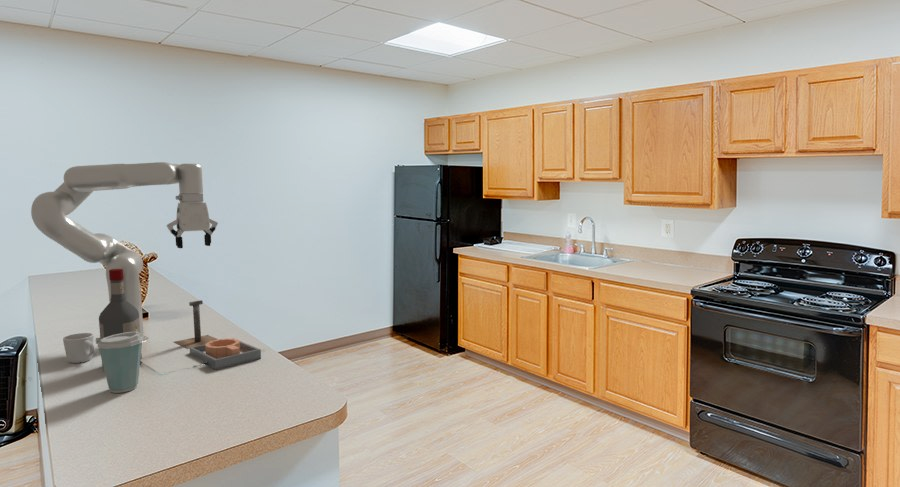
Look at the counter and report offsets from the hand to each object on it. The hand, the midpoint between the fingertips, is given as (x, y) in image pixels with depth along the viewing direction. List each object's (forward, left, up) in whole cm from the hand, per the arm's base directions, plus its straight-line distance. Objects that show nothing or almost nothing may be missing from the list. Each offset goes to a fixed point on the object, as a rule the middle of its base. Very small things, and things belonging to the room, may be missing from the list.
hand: (194, 246), depth 194 cm
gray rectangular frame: (-4, -29, -33) cm, 45 cm away
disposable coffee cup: (-35, -35, -34) cm, 60 cm away
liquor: (-29, -14, -34) cm, 46 cm away
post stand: (-4, -9, -33) cm, 35 cm away
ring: (-4, -30, -33) cm, 45 cm away
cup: (-36, 0, -34) cm, 49 cm away
